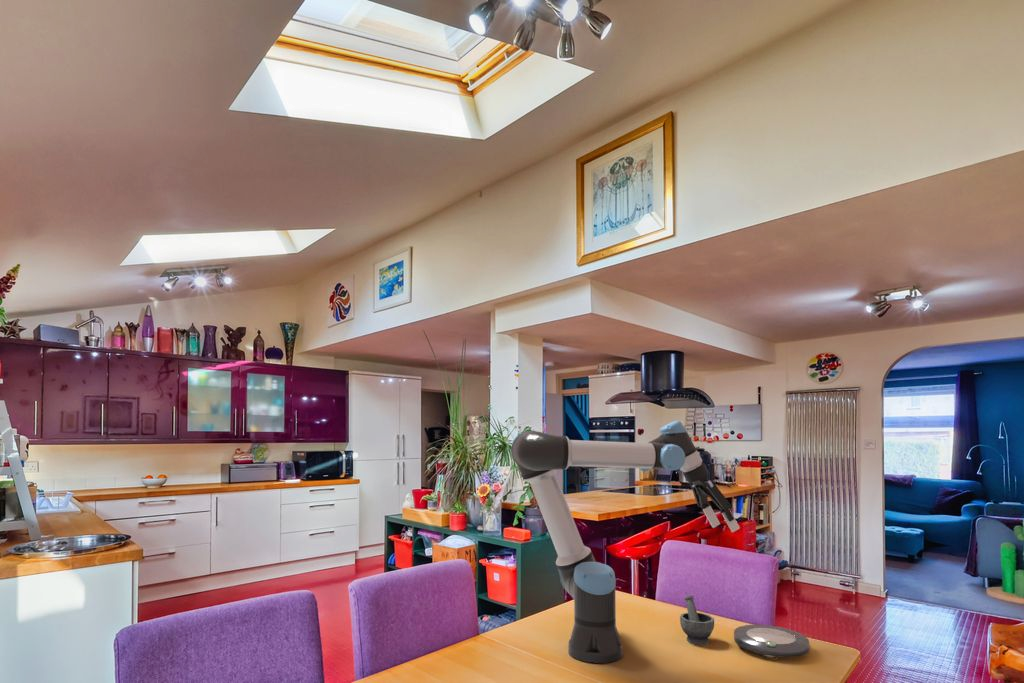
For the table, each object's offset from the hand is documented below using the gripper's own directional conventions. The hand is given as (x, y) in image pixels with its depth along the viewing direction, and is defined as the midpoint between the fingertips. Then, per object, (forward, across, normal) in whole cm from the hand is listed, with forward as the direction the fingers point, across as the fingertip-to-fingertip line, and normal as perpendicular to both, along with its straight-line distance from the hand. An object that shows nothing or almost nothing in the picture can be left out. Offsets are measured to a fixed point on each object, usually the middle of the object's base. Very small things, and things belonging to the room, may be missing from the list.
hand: (725, 528), depth 190 cm
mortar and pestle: (+22, -3, +26) cm, 35 cm away
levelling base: (+31, -11, +10) cm, 35 cm away
